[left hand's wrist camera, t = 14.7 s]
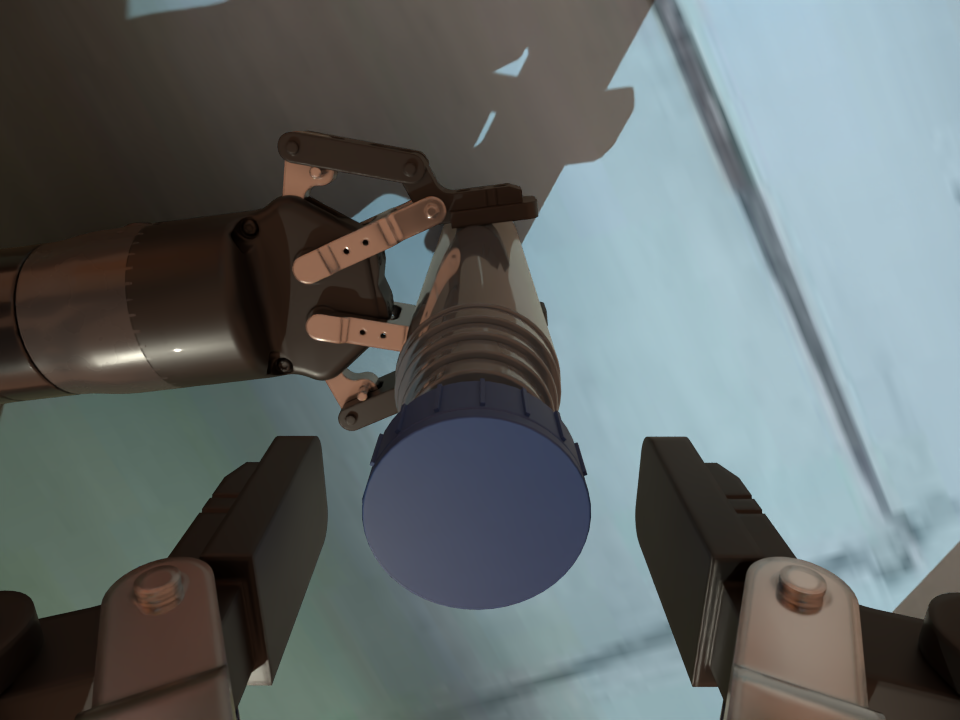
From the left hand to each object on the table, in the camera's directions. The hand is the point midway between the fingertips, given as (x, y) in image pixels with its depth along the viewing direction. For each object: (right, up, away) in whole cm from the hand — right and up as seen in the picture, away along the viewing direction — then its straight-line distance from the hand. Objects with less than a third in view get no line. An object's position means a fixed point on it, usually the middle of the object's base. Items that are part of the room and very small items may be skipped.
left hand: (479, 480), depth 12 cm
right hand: (+3, +7, +16) cm, 18 cm away
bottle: (0, +9, +23) cm, 25 cm away
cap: (0, 0, -1) cm, 1 cm away
